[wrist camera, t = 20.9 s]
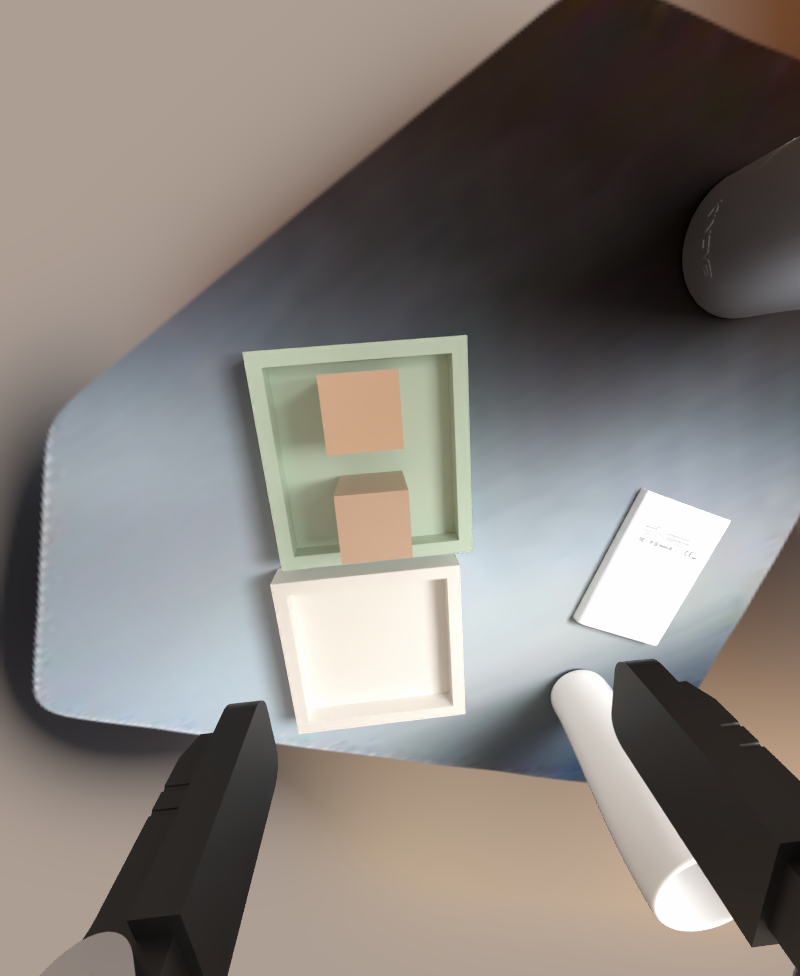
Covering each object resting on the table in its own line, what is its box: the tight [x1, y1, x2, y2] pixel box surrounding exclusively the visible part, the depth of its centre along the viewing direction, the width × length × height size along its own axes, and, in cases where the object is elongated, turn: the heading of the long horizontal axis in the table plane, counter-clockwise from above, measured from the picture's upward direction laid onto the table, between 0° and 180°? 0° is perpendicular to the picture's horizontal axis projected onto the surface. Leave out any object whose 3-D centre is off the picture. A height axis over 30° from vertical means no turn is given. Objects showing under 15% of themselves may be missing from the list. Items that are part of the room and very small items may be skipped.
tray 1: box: [242, 335, 473, 571], centre depth 28 cm, size 14×15×2 cm
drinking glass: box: [551, 670, 733, 931], centre depth 29 cm, size 7×7×15 cm
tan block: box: [334, 471, 413, 564], centre depth 26 cm, size 4×4×5 cm
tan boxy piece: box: [316, 369, 404, 456], centre depth 24 cm, size 4×4×5 cm
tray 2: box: [270, 553, 465, 734], centre depth 32 cm, size 14×14×2 cm
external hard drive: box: [573, 488, 731, 646], centre depth 33 cm, size 2×8×12 cm
